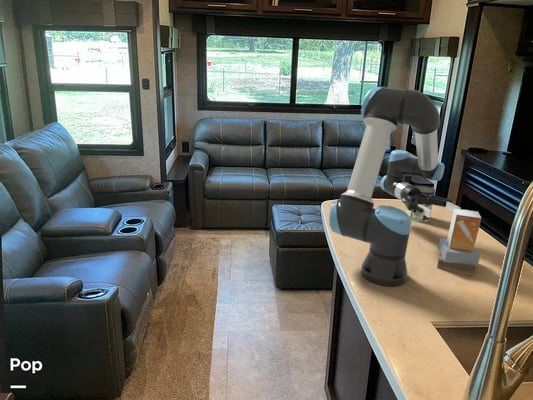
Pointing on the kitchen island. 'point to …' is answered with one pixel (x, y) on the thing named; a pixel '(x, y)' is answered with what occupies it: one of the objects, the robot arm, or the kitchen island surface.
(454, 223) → the small box
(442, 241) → the upper block
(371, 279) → the robot arm
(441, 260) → the lower block
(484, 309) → the kitchen island surface
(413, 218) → the coffee can
